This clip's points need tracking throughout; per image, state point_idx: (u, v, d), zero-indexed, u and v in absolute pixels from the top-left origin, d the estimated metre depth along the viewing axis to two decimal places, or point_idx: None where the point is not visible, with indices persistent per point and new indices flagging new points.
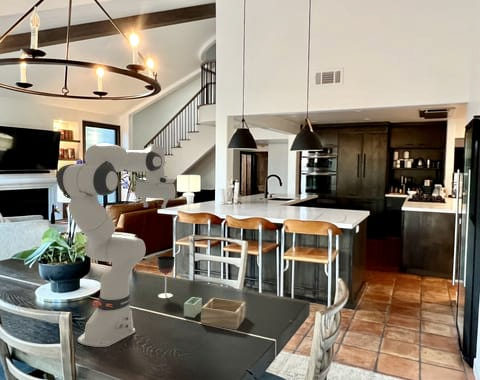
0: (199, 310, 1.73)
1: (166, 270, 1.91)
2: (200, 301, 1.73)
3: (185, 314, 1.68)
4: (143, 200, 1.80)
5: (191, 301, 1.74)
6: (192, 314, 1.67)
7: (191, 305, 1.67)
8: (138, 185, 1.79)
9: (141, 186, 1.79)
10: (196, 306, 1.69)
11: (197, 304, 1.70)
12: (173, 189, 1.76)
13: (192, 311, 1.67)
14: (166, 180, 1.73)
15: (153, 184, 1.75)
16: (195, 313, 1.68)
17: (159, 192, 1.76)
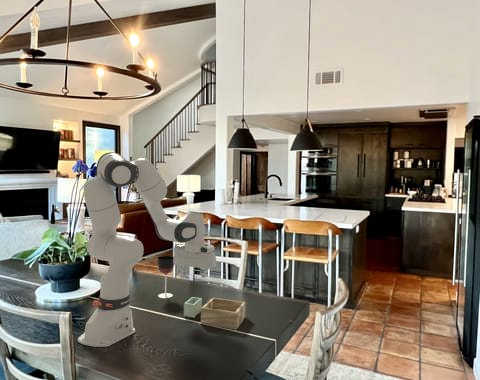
0: (199, 310, 1.73)
1: (166, 270, 1.91)
2: (200, 301, 1.73)
3: (185, 314, 1.68)
4: (182, 268, 1.72)
5: (191, 301, 1.74)
6: (192, 314, 1.67)
7: (191, 305, 1.67)
8: (177, 253, 1.71)
9: (180, 254, 1.71)
10: (196, 306, 1.69)
11: (197, 304, 1.70)
12: (214, 258, 1.68)
13: (192, 311, 1.67)
14: (207, 250, 1.65)
15: (193, 253, 1.67)
16: (195, 313, 1.68)
17: (200, 261, 1.68)
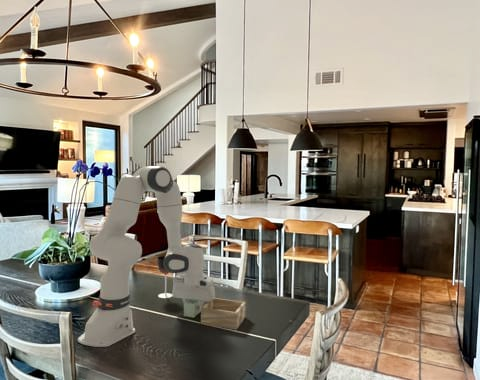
0: (199, 310, 1.73)
1: None
2: None
3: (185, 314, 1.68)
4: (184, 301, 1.72)
5: (191, 301, 1.74)
6: (192, 314, 1.67)
7: (191, 305, 1.67)
8: (176, 285, 1.72)
9: (179, 286, 1.72)
10: (196, 306, 1.69)
11: (197, 304, 1.70)
12: (213, 291, 1.69)
13: (192, 311, 1.67)
14: (206, 283, 1.66)
15: (192, 286, 1.68)
16: (195, 313, 1.68)
17: (199, 294, 1.69)
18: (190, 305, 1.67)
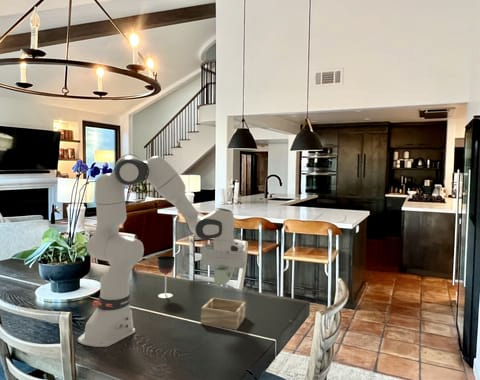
0: (229, 277, 1.65)
1: (166, 270, 1.91)
2: (230, 268, 1.66)
3: (215, 281, 1.60)
4: (213, 268, 1.64)
5: (221, 268, 1.66)
6: (223, 281, 1.59)
7: (222, 271, 1.59)
8: (205, 252, 1.64)
9: (208, 253, 1.64)
10: (227, 273, 1.62)
11: (228, 271, 1.62)
12: (245, 257, 1.61)
13: (223, 277, 1.59)
14: (238, 249, 1.58)
15: (223, 252, 1.60)
16: (226, 280, 1.61)
17: (229, 260, 1.61)
18: (221, 271, 1.59)
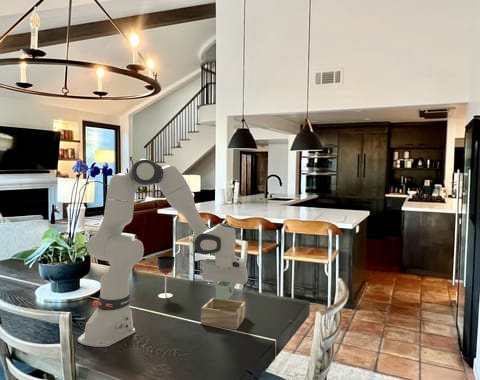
0: (231, 293, 1.65)
1: (166, 270, 1.91)
2: None
3: (217, 296, 1.60)
4: (215, 283, 1.64)
5: (222, 283, 1.66)
6: (225, 296, 1.60)
7: (223, 287, 1.59)
8: (206, 267, 1.64)
9: (210, 268, 1.64)
10: (228, 289, 1.62)
11: (229, 286, 1.63)
12: (246, 273, 1.61)
13: (225, 293, 1.59)
14: (240, 265, 1.58)
15: (224, 268, 1.60)
16: (227, 295, 1.61)
17: (231, 276, 1.61)
18: (222, 287, 1.60)
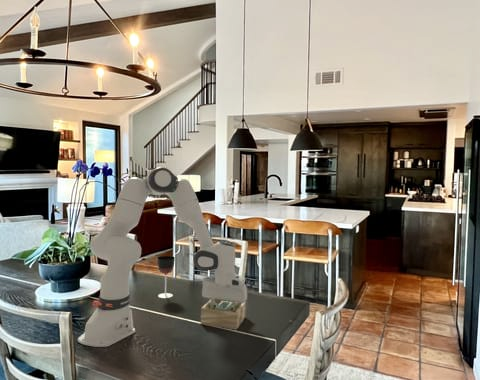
0: None
1: (166, 270, 1.91)
2: (231, 305, 1.66)
3: None
4: (212, 301, 1.65)
5: (221, 305, 1.67)
6: None
7: (223, 309, 1.60)
8: (206, 285, 1.64)
9: (209, 286, 1.64)
10: None
11: (228, 308, 1.63)
12: (245, 291, 1.61)
13: None
14: (239, 283, 1.58)
15: (224, 286, 1.61)
16: None
17: (230, 294, 1.61)
18: None
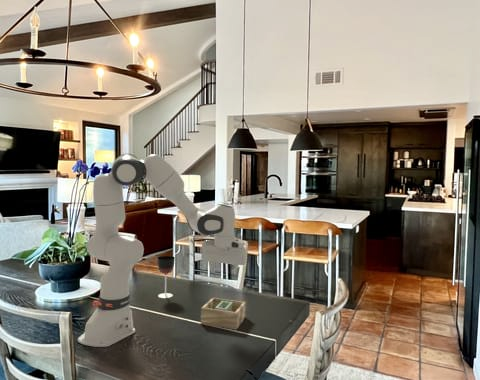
0: None
1: (166, 270, 1.91)
2: (231, 305, 1.66)
3: None
4: (210, 264, 1.64)
5: (221, 305, 1.67)
6: None
7: (223, 309, 1.60)
8: (205, 248, 1.63)
9: (209, 249, 1.63)
10: None
11: (228, 308, 1.63)
12: (245, 254, 1.60)
13: None
14: (239, 245, 1.57)
15: (223, 248, 1.60)
16: None
17: (230, 257, 1.60)
18: None
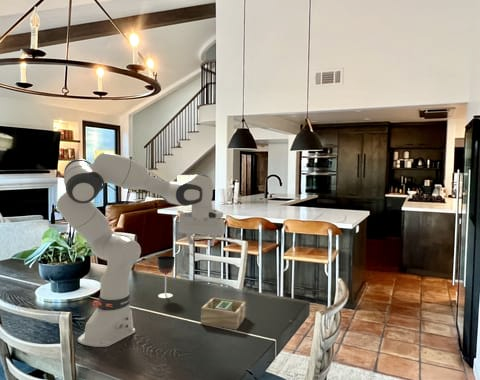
0: None
1: (166, 270, 1.91)
2: (231, 305, 1.66)
3: None
4: (188, 236, 1.60)
5: (221, 305, 1.67)
6: None
7: (223, 309, 1.60)
8: (183, 220, 1.59)
9: (186, 221, 1.59)
10: None
11: (228, 308, 1.63)
12: (223, 225, 1.56)
13: None
14: (216, 215, 1.54)
15: (201, 219, 1.56)
16: None
17: (207, 228, 1.56)
18: None
